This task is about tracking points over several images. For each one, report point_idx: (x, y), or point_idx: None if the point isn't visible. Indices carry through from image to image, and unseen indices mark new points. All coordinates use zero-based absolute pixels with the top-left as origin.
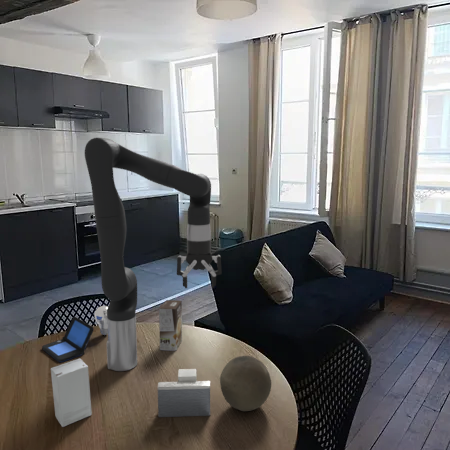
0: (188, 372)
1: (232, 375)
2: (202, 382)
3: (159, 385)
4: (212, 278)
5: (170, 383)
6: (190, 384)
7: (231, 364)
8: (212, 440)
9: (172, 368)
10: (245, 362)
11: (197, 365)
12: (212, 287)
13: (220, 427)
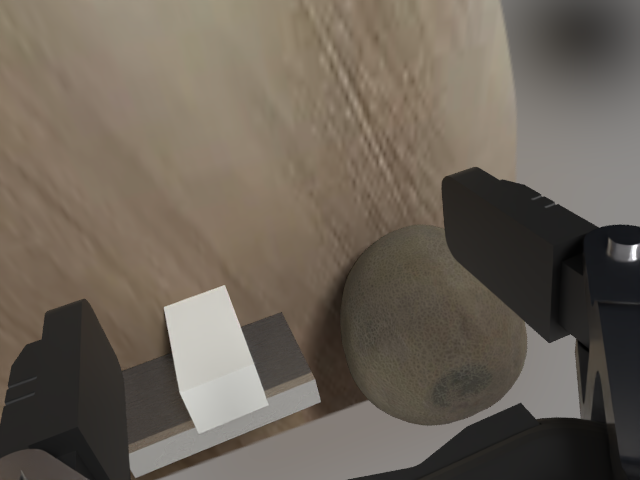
0: (230, 396)
1: (417, 423)
2: (290, 396)
3: (137, 469)
4: (542, 323)
5: (174, 444)
6: (251, 421)
7: (422, 407)
8: (312, 407)
9: (3, 79)
10: (477, 400)
11: (131, 17)
12: (458, 247)
13: (324, 363)
